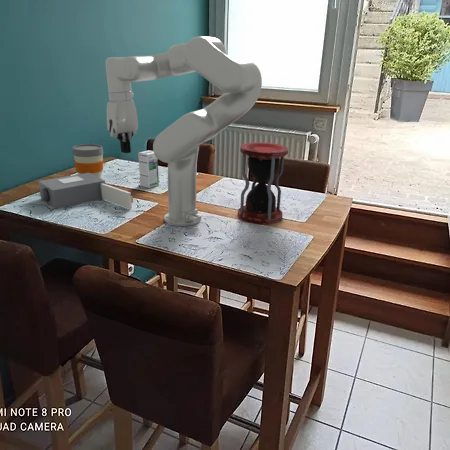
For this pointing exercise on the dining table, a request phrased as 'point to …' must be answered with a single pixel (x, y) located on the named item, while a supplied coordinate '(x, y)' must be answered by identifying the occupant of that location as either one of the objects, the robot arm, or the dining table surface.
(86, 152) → the reusable coffee cup
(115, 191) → the side door
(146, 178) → the syrup box
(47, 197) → the camera housing
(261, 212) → the hourglass
